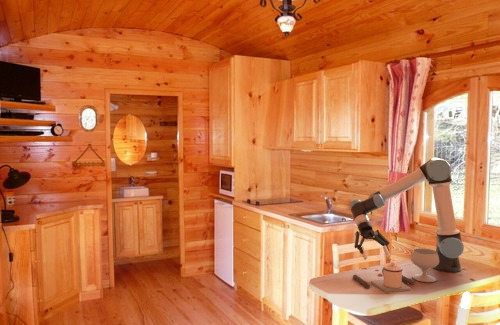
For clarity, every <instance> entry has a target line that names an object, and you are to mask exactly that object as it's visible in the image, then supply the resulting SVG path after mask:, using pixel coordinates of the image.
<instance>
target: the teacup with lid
mask: <svg viewBox="0 0 500 325" xmlns="http://www.w3.org/2000/svg"><path fill="white" fill-rule="evenodd" d="M381 274H382V277H383V279H382V280H383V284H384V285H385V286H386V287H390V288H400V287H401V286H402V283H403V280H402V275H403V267H401V266H400V265H397V264H396V262H395V261H391V262H390V263H389V264H385V265H383V267H382V268H381Z"/></svg>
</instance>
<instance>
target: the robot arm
mask: <svg viewBox="0 0 500 325" xmlns="http://www.w3.org/2000/svg"><path fill="white" fill-rule="evenodd" d="M423 182H428V185H429V186H430V187H432V192H433V193H432V194H433V199H434V205H435V212H436V218H437V223H438V228H437V229H436V232H435V234H436V237H435V238H436V239H435V241H436V242H435V251H436V252H437V254H438V256H439V264H438V265H437V266H436V267H433V268H432V269H434V270H439V271H442V272H449V273H453V272H454V273H458V272H461V271H462V265H461V260H460V258H459V257H460V256H461V255H462V254H463V253H464V250H465V249H464V248H465V245H464V243H463V241H462V234H461V230H459V229H458V228H457V224H456V218H455V212H454V205H453V199H452V193H451V186H450V185H451V184H452V182H453V181H452V167H451V165H450V163H449V162H448V161H447V160H446V159H445V158H440V157H433V158H431V159H429V160H428V161H426V162H425V163H423V164H422V165H420V166H418V167H417V169H416V170H414V171H413V172H411V173H409V174H407V175H405V176H403V177H401V178H400V179H398V180H396V181H394V182H392V183H390V184H389V185H386V186H385V187H382V189H379V190H377V191H376V192H373V193H370V195H369V196H368V198H366V199H365V200H361V199H353V200H352V201H351V202H349V205H348V206H349V208H350V212H351V214H352V217H353V219H354V221H355V224H356V226H357V229H358V230H356V232H355V234H354V236H355V240H354V248H355V249H357V250H358V251H359V253H360V254H361V256H362V258H363V260H365V261H366V260H367V259H368V255H367V252H366V251H365V250H366V249H365V247H364V246H363V244H364V241H365V240H367V241H368V240H372V241H375V242H376V243H378V244H379V245H381V246H382V249H383V252H384V254H385V257H386V259H389V258H390V257H391V254H390V249H389V244H390V241H389V240H388V239H387V238H385V236H383V235H382V233H381V232H380V230H379V229H377V230H373V226H372V223H371V222H370V219H369V216H368V214H369V213H372V212H373V211H375V210H378V209H381V208H382V207H385V206H386V202H387V201H389V200H391V199H393V198H395V197H397V196H399V195H400V194H403V193H405V192H406V191H408V190H410V189H412V188H415V187H416V186H418V185H419V184H421V183H423ZM360 236H361V240H359V239H360ZM359 241H360V242H359Z"/></svg>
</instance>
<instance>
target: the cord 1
mask: <svg viewBox="0 0 500 325" xmlns="http://www.w3.org/2000/svg"><path fill="white" fill-rule="evenodd" d="M352 279H353V280H355V281H356V282H357V283H359V284H361V285H362V286H363V287H365V288H366V289H370V288H371V283H369V282H368V281H366V280H364V279H363V278H361V277H360V276H359V275H357V274H353V276H352Z"/></svg>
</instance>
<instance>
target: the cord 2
mask: <svg viewBox="0 0 500 325" xmlns="http://www.w3.org/2000/svg"><path fill="white" fill-rule="evenodd" d="M402 282H404V283H406V284H408V285H410V286H412V285H414V281H413V280H411V279H410V278H408V277H406V276H405V275H403V274H402Z"/></svg>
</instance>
